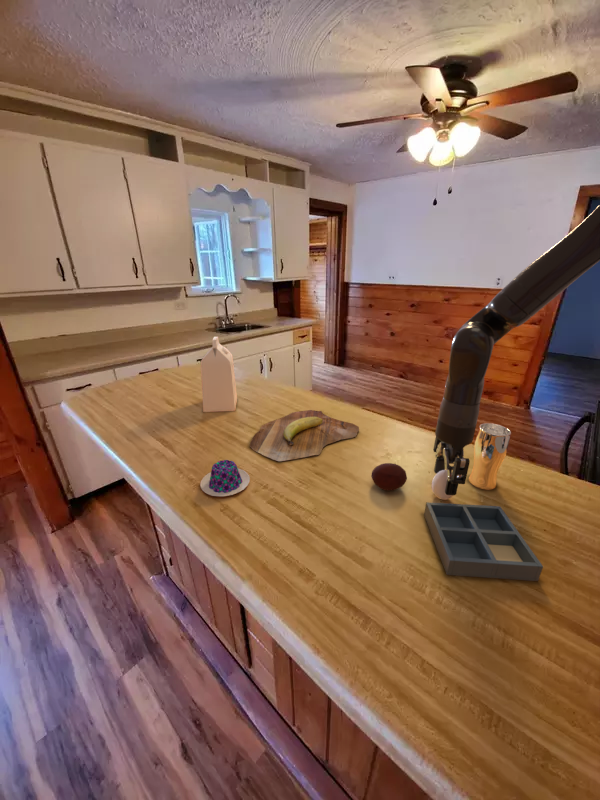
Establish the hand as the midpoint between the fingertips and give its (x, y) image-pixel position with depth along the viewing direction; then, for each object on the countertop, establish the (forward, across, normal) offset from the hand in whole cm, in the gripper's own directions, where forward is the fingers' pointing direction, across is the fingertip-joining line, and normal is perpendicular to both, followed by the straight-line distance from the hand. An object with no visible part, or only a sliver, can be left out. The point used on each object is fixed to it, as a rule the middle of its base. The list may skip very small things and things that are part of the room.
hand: (444, 482), depth 77 cm
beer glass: (+4, +7, -12) cm, 15 cm away
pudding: (+4, +1, +52) cm, 52 cm away
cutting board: (+4, +29, +35) cm, 46 cm away
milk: (+5, +50, +68) cm, 84 cm away
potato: (+4, +3, +12) cm, 13 cm away
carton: (+4, -14, -2) cm, 15 cm away
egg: (+4, 0, 0) cm, 4 cm away
